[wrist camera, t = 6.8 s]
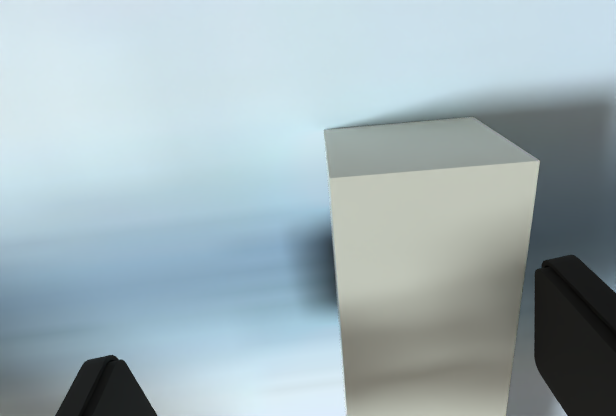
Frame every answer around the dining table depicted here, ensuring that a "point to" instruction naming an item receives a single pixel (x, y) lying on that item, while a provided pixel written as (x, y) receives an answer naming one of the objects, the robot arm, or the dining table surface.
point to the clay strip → (428, 264)
